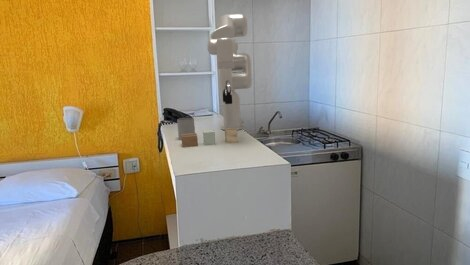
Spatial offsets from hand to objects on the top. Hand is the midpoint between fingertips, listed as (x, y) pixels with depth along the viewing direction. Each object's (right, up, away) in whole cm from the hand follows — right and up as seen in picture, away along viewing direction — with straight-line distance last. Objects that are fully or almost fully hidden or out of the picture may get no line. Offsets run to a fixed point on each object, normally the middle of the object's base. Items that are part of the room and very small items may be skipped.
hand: (227, 102), depth 173 cm
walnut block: (-18, -20, +1) cm, 27 cm away
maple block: (+2, -18, +4) cm, 19 cm away
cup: (-21, -17, +17) cm, 32 cm away
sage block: (-8, -19, +2) cm, 21 cm away
